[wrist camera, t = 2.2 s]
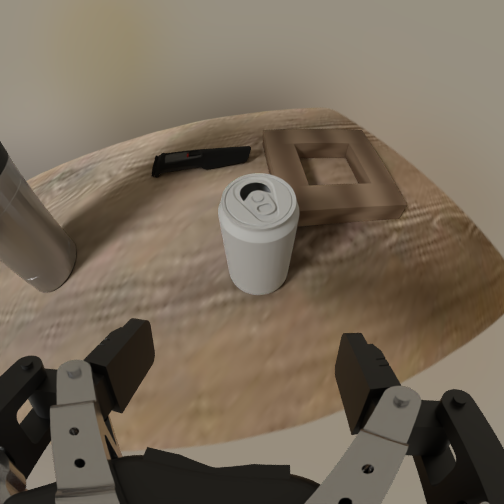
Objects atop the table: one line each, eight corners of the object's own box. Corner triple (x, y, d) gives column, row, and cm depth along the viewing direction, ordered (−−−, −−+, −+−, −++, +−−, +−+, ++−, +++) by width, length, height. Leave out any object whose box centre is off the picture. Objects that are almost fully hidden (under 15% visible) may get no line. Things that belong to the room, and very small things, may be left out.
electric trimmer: (252, 170, 40) (251, 154, 37) (151, 180, 39) (146, 165, 36) (250, 155, 42) (249, 139, 39) (155, 164, 41) (150, 149, 38)
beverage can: (272, 239, 33) (278, 161, 22) (297, 285, 29) (317, 215, 19) (222, 257, 31) (205, 182, 21) (242, 306, 28) (233, 244, 18)
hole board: (281, 228, 33) (283, 212, 31) (262, 145, 42) (263, 130, 40) (398, 218, 34) (406, 204, 31) (357, 143, 43) (361, 130, 40)
